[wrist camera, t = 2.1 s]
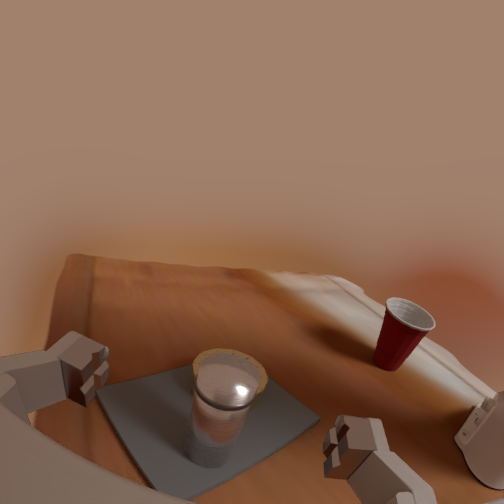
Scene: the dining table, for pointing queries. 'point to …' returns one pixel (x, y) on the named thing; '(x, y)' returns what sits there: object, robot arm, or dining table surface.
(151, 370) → the dining table surface
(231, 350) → the brass collar
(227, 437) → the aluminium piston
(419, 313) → the plastic cup
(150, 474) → the rubber mat
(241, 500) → the dining table surface
